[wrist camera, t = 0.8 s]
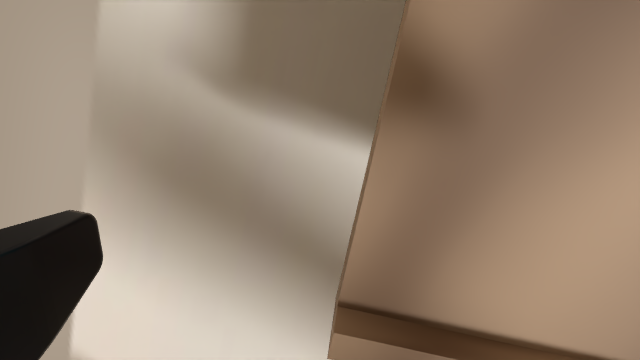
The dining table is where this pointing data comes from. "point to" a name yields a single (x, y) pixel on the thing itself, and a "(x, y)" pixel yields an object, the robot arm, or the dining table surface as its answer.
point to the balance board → (501, 188)
